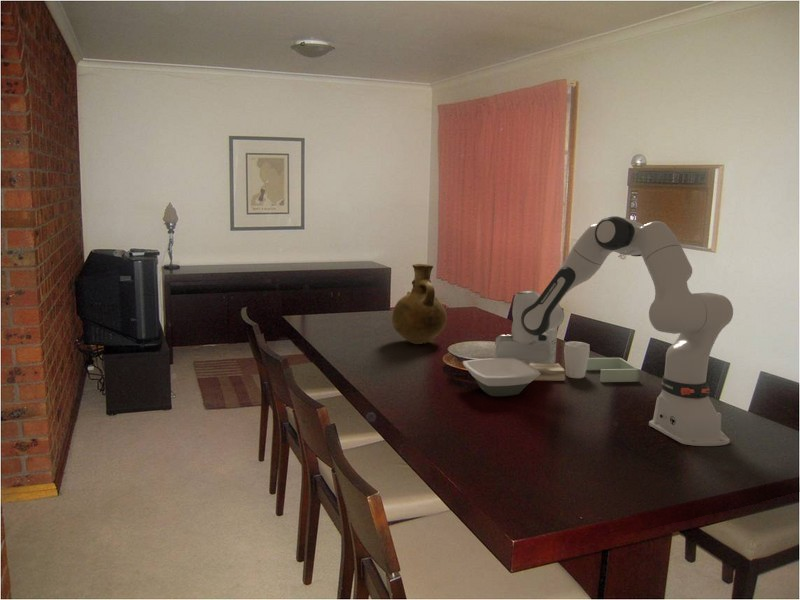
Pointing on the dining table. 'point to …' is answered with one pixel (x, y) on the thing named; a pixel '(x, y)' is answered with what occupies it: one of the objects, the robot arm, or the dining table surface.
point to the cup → (576, 358)
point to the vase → (420, 309)
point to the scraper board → (549, 371)
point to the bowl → (501, 375)
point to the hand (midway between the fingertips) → (522, 371)
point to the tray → (614, 369)
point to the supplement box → (552, 341)
